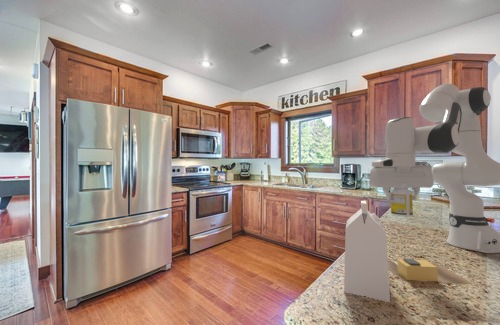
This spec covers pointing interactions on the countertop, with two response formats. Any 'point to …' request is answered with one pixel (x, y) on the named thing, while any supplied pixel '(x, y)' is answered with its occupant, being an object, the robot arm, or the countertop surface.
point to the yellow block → (417, 270)
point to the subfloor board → (443, 274)
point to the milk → (366, 256)
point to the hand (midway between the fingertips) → (401, 200)
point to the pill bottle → (402, 201)
